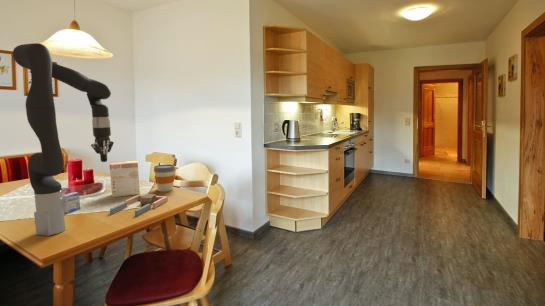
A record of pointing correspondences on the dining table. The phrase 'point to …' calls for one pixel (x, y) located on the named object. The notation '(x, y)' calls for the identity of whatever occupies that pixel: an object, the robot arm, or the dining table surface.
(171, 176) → the reusable coffee cup
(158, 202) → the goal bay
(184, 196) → the dining table surface
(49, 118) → the robot arm
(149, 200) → the walnut block
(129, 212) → the dining table surface
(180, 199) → the dining table surface
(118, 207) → the channel
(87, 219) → the dining table surface
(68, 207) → the medicine box
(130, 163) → the coffeecake box
